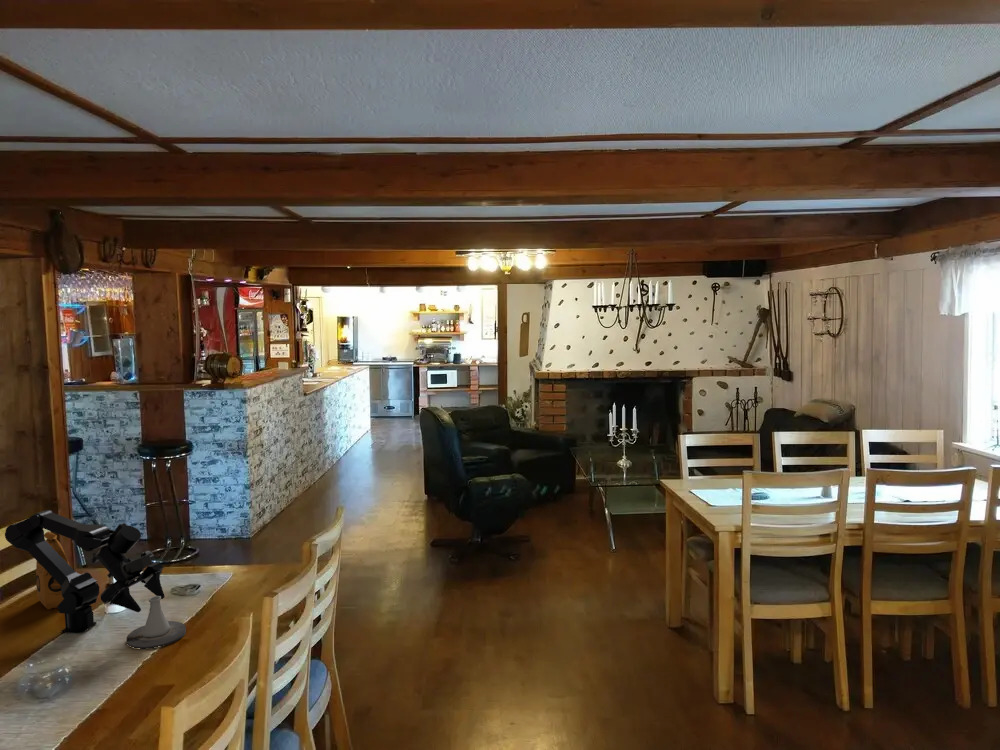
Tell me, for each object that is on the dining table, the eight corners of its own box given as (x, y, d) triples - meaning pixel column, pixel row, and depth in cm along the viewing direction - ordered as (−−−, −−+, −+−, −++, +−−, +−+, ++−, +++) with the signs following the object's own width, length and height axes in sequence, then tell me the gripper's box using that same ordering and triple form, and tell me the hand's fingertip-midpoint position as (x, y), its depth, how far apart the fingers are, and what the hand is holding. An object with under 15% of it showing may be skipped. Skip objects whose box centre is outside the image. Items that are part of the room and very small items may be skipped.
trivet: (114, 648, 187) (114, 643, 187) (148, 624, 202) (148, 619, 202) (166, 650, 186) (165, 645, 186) (196, 625, 201) (196, 621, 201)
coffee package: (39, 612, 211) (35, 543, 209) (36, 600, 221) (31, 533, 219) (77, 604, 217) (73, 536, 215) (72, 592, 227) (68, 527, 225)
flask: (166, 636, 191) (164, 602, 190) (138, 639, 190) (136, 604, 189) (174, 625, 198) (172, 592, 197) (147, 627, 197) (145, 593, 196)
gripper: (107, 556, 184) (144, 600, 183) (156, 535, 202) (190, 574, 201) (84, 582, 187) (120, 625, 185) (135, 559, 205) (168, 598, 203)
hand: (151, 604), depth 194 cm, fingers open, 9 cm apart
